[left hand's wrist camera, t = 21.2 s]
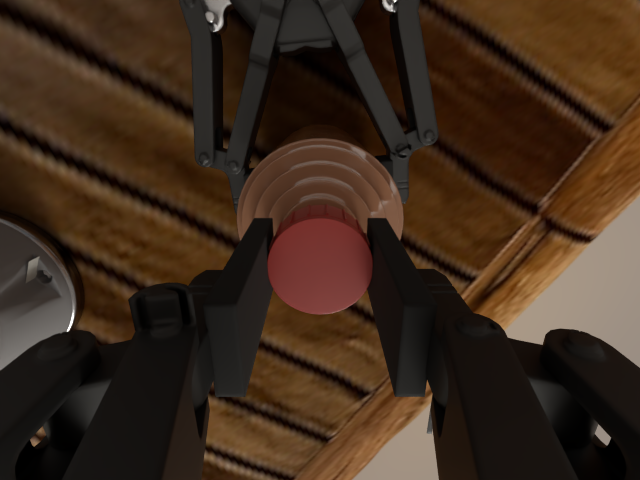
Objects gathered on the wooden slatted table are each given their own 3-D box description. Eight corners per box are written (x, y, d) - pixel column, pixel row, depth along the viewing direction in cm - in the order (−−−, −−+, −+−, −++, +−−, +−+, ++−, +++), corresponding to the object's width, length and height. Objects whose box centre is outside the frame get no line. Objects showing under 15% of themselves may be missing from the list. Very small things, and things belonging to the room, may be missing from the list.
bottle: (385, 186, 31) (468, 285, 13) (308, 236, 32) (296, 381, 15) (332, 102, 28) (352, 96, 11) (252, 162, 30) (162, 236, 13)
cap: (268, 286, 15) (261, 309, 13) (276, 196, 13) (270, 209, 12) (358, 297, 15) (363, 321, 13) (376, 209, 14) (384, 224, 12)
